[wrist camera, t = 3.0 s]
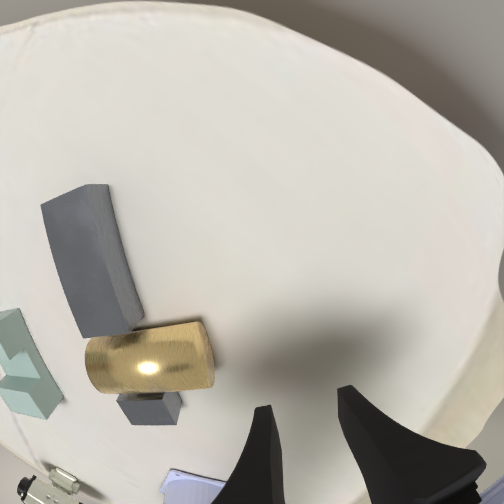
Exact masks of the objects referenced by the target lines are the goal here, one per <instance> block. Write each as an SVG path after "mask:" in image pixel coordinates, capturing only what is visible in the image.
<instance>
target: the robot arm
mask: <svg viewBox="0 0 504 504" xmlns="http://www.w3.org/2000/svg"><path fill="white" fill-rule="evenodd" d="M337 394H338V418H339V421H340V424H341V427H342V431H343V434H344V436H345V439H346V441H347V443H348V445H349V447H350V449H351V451H352V453H353V455H354V458H355V460H356V462H357V464H358V466H359V468H360V470H361V473H362V475H363V477H364V480H365V484H366V487H367V490H368V493H369V496H370V500H371V503H372V504H504V475H503V476H502V477H501V478H500V479H499V480H497V481H496V482H495V483H494V484H492V486H490V487H489V488H487V489H486V490H485V491H483V492H482V493H481V494H478V492H477V491H476V489H477V488H478V485H477V484H476V482H475V481H476V480H477V479H478V477H479V476H480V475H481V474H482V473H483V471H484V470H485V468H486V462H485V461H484V460H483V458H482V457H481V456H480V455H479V454H478V453H477V452H476V451H475V450H469V449H463V448H457V447H453V446H449V445H445V444H442V443H439V442H436V441H434V440H431V439H428V438H426V437H423V436H421V435H419V434H417V433H415V432H413V431H411V430H409V429H407V428H405V427H404V426H402V425H400V424H399V423H397V422H396V421H394V420H393V419H391V418H390V417H388V416H387V415H385V414H384V413H383V412H382V411H380V410H379V409H378V408H376V407H375V406H374V405H373V404H372V403H370V402H369V401H368V400H367V399H366V398H365V397H364V396H363V395H362V394H360V393H359V392H358V391H357V390H356V389H355V388H354V387H353V386H352V385H348V386H345V387H342V388H338V389H337ZM160 493H162V494H165V497H164V502H163V504H285V500H284V491H283V468H282V450H281V445H280V439H279V433H278V429H277V426H276V422H275V418H274V415H273V411H272V407H271V405H267V406H261V407H257V408H256V409H255V411H254V417H253V422H252V426H251V429H250V433H249V436H248V439H247V441H246V444H245V447H244V449H243V452H242V454H241V456H240V458H239V461H238V463H237V465H236V467H235V469H234V471H233V472H232V474H231V476H230V477H229V479H228V481H227V482H221V481H216V480H212V479H207V478H203V477H199V476H195V475H191V474H187V473H183V472H180V471H176V470H170V471H169V473H168V475H167V477H166V479H165V481H164V483H163V485H162V486H161V488H160Z"/></svg>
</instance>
